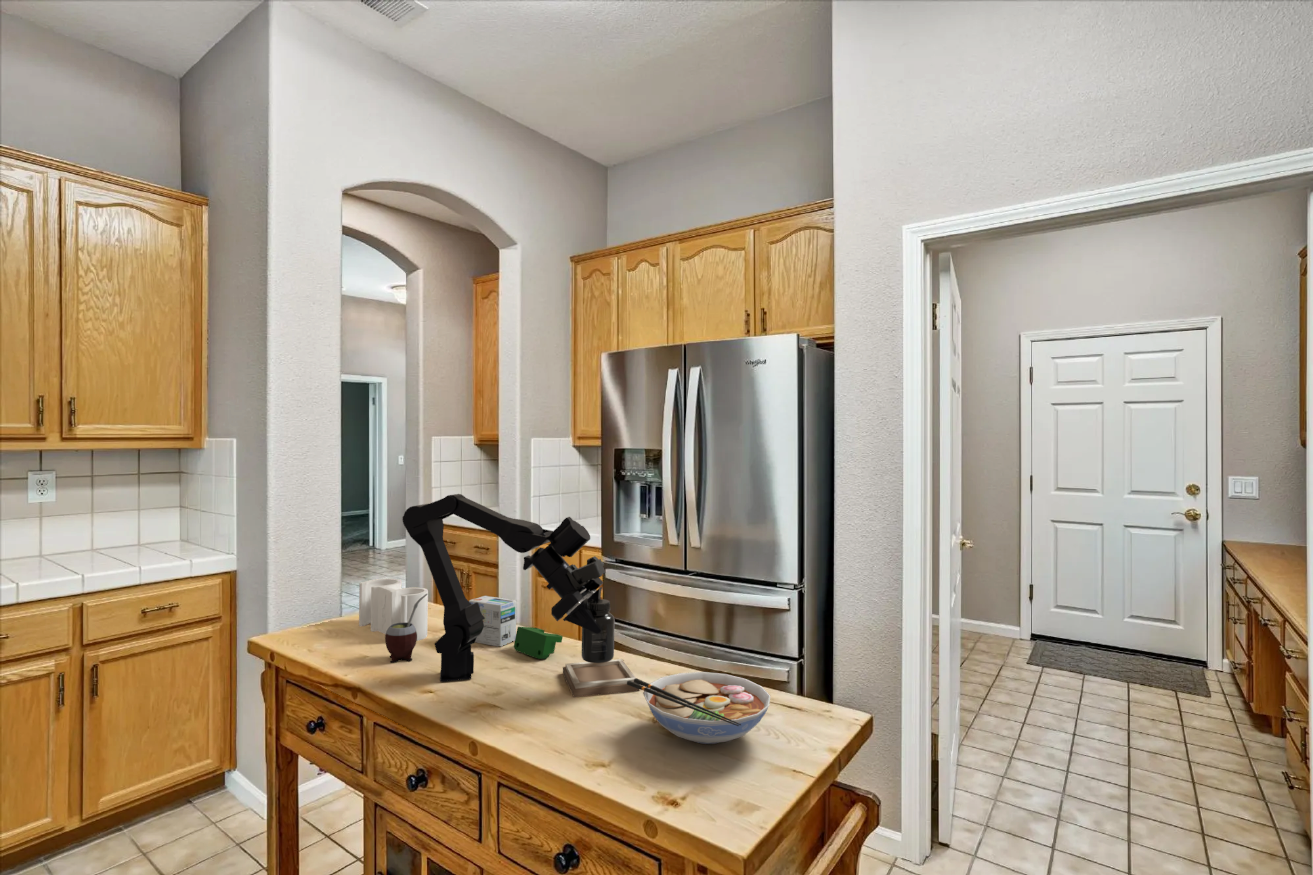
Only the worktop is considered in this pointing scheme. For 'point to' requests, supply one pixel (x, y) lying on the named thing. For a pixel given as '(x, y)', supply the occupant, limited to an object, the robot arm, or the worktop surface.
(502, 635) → the light bulb box
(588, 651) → the supplement bottle
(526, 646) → the clamp
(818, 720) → the worktop surface
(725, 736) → the ramen bowl
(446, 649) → the robot arm
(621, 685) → the beige square tray
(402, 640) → the mate gourd
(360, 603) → the white piece
